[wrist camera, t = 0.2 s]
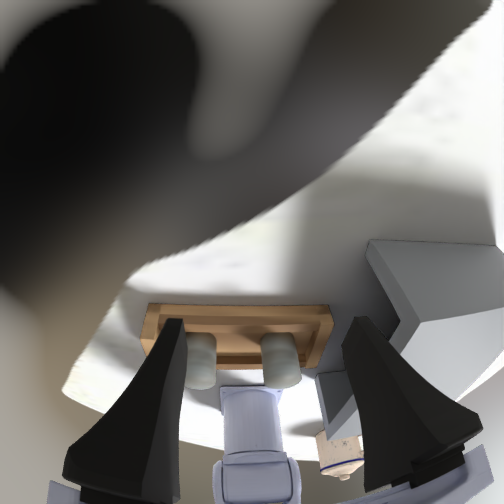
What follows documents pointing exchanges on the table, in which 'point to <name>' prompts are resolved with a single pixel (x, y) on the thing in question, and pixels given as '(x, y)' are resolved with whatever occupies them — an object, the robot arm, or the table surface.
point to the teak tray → (245, 339)
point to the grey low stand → (430, 320)
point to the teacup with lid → (339, 455)
